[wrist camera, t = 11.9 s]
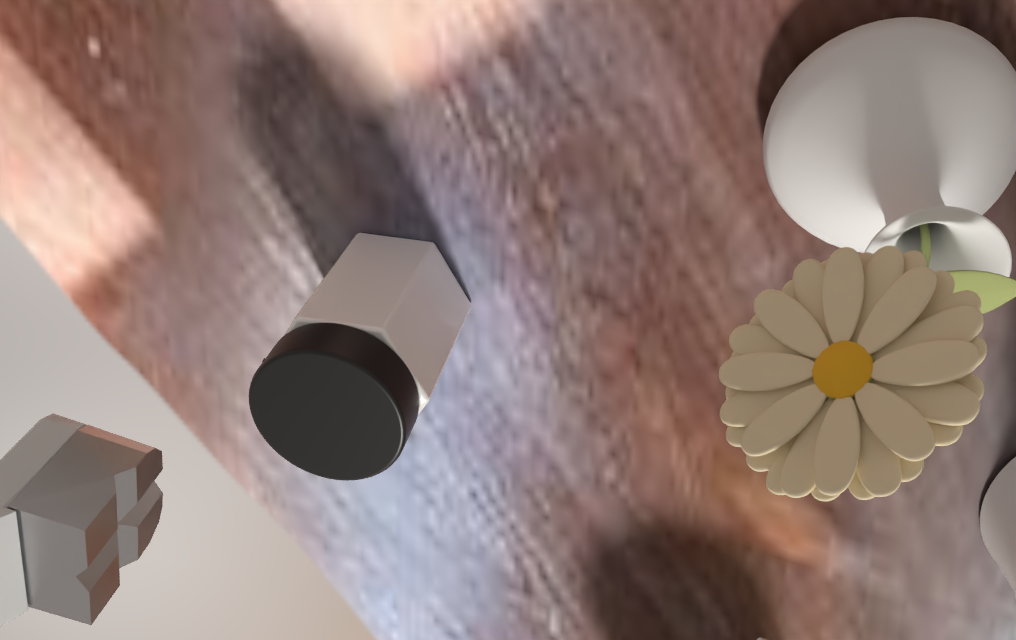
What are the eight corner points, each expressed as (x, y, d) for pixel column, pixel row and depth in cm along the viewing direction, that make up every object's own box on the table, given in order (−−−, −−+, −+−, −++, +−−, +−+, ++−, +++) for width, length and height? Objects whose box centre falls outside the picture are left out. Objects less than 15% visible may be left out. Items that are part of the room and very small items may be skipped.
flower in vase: (1016, -22, 40) (1297, 258, 20) (1021, 215, 46) (1247, 627, 25) (709, 46, 45) (680, 336, 24) (747, 256, 50) (750, 638, 29)
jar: (303, 254, 56) (209, 371, 46) (417, 206, 53) (341, 321, 43) (381, 371, 59) (309, 503, 50) (492, 333, 56) (439, 466, 46)
